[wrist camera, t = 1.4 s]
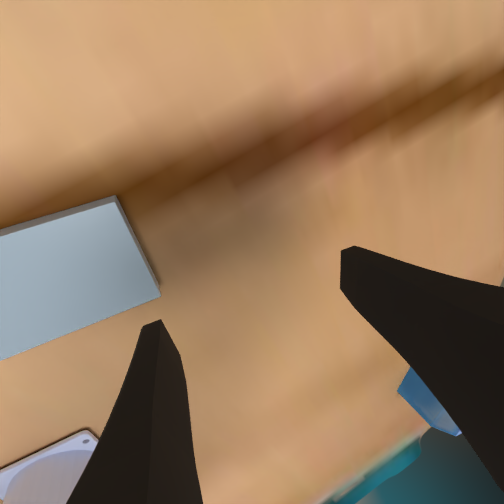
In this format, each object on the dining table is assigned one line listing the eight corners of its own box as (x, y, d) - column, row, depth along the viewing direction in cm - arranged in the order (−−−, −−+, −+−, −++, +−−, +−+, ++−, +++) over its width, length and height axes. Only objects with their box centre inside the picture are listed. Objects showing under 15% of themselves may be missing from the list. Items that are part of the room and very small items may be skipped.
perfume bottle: (436, 357, 45) (522, 425, 35) (420, 383, 48) (496, 454, 38) (412, 363, 43) (498, 438, 33) (396, 390, 45) (472, 468, 35)
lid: (158, 281, 20) (161, 296, 19) (-26, 352, 17) (-42, 377, 16) (115, 192, 17) (114, 201, 15) (-126, 264, 14) (-160, 285, 12)
